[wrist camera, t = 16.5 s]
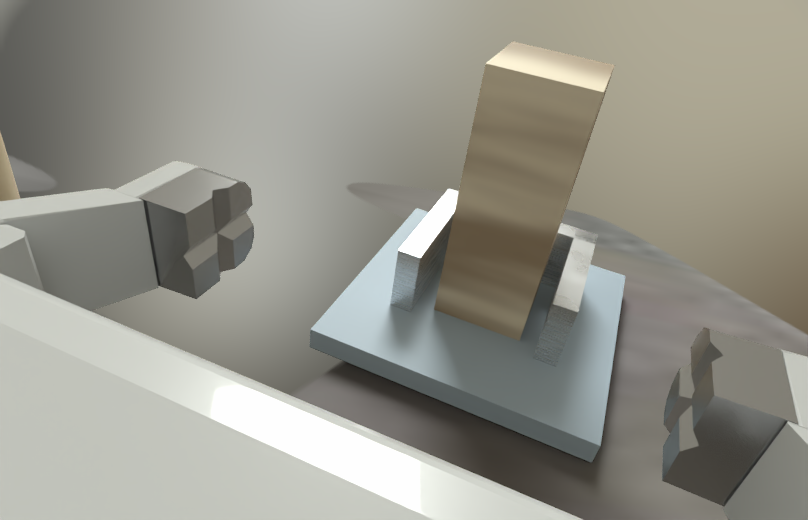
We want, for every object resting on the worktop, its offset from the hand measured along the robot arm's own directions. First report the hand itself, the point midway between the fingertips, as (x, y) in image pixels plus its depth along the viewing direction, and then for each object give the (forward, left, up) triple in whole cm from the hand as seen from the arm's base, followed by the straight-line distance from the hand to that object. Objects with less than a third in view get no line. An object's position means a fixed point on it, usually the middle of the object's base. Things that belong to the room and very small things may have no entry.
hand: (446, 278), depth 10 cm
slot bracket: (+10, -9, -10) cm, 17 cm away
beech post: (+10, -9, -10) cm, 17 cm away
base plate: (+10, -9, -11) cm, 18 cm away
